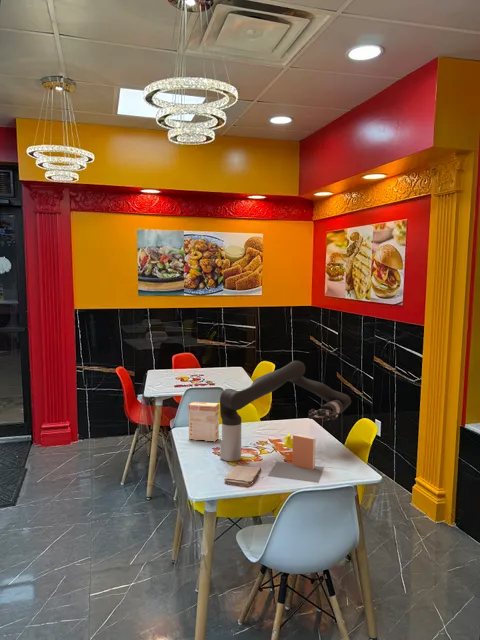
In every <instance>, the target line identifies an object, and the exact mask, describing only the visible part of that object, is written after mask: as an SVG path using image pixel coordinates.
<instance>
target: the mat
mask: <svg viewBox="0 0 480 640" xmlns="http://www.w3.org/2000/svg"><path fill="white" fill-rule="evenodd" d="M324 469H325V467H324V466H319V465H318V466H316V465H315V468H314V469H313V470H311V469H306V468H302V467H298V466H294V465H292V462H284V461H276V462H275V463H274V465H273V467H272V468H271V470H270V471H269V473H268V474H267V477H273V478H280V479H285V480H286V479H288V480H295V481H302V482H311V483H317V484H318V483H319V482H320V480H321V477H322V474H323V471H324Z"/></svg>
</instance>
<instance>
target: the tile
mask: <svg viewBox="0 0 480 640" xmlns="http://www.w3.org/2000/svg"><path fill="white" fill-rule="evenodd" d="M292 438H293V448H292V458H291V459H292V462H291V463H292V465H294V466H298V467H302V468H306V469H311V470H313V469H314V468H315V466H316V437H312V436H308V435H304V434H298V433H294V434H293V435H292Z"/></svg>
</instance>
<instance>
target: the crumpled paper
mask: <svg viewBox="0 0 480 640" xmlns="http://www.w3.org/2000/svg"><path fill="white" fill-rule="evenodd" d="M283 441H285V442H283V444H282V447H283V448H284V447H286V448H287V449H293V437H291V433H288V434H287V435H286V436H285V437H284V439H283Z"/></svg>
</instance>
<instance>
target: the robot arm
mask: <svg viewBox="0 0 480 640" xmlns="http://www.w3.org/2000/svg"><path fill="white" fill-rule="evenodd" d="M305 373H306V366H305V364H304V362H302V361H300V360H292V361H291V362H289V363H288V364H286V365H285V366H283V367H281V368H279V369H276V370H273V371H270V372H267V373H266V374H263V375H260V376H258V377H257V378H256V379H254V380H253V382H252V384H251V385H250V386H249V387H247V388H244V389H242V390H236V389H233V388H225V389H224V390H223V391H222V392H221V394H220V398H219V416H220V419H221V438H220V457H219V458H220V460H224V461H226V462H236V461H237V462H238V461H240V460H241V459H242V417H241V415H240V414H239V413H238V410H241V409H243V408H245V407H246V406H247V405H249V404H251V403H252V402H254V401H256V400H258V399H260V398H262V397H263V396H266V395H268V394H270V393H272V392H274V391H276V390H277V389H279V388H280V387H282V386H283V385H284V384H286V383H287V382H289V383H292V384H294V385H297V386H299V387H301V388H303V389H305V390H307V391H309V392H310V393H313V394H315V395H316V396H317V397H319V398H321V399H322V400H324V401H326V403H324V404H323V405H321V406H320V408H319V409H316V410H315V408H311V409H310V410H308V419H310V420H312V419H313V418H322V422H326V421H329V420H331V421H334V420H336V419H338V418H339V414H342V413H343V412H344V411H345V410H346V409H347V408H348V407H349V406H350V405H351V403H352V400H351V397H350V396H349V395H348V394H346V393H344V392H340V391H337V390H334V389H332V388H331V387H329V386H328V385H327V384H324V383H322V382H320V381H317V380H313V379H308V378H306V377H305V376H304V375H305Z"/></svg>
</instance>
